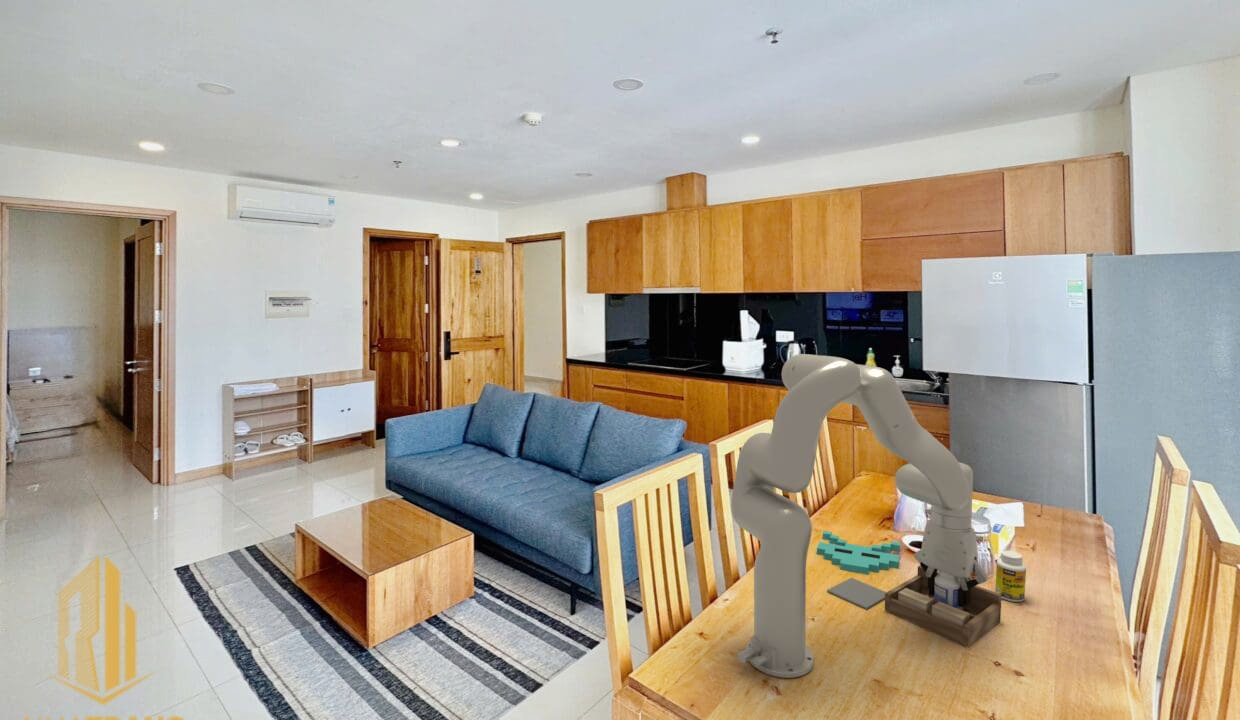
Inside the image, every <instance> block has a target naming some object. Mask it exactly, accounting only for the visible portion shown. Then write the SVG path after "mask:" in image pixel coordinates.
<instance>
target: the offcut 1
mask: <svg viewBox="0 0 1240 720" xmlns="http://www.w3.org/2000/svg"><path fill="white" fill-rule="evenodd" d="M921 594H922V593H920V594H919V593H916V592H914V591H911V590H909V589H906V588H905V589H903V590H901V591H900V592H898V601H900V602H903V603H905V604H907V605H910V606H912V607H914V608H917V609H919V610H922V611H924V612H926V613H929V614H931V615H932V606H933V599H934V598H933V597H931V598H929V597H930V596H928V595H926V596H924V595H925V594H923V595H921ZM927 596H928V597H927ZM932 598H933V599H932Z"/></svg>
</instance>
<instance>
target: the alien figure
mask: <svg viewBox="0 0 1240 720" xmlns="http://www.w3.org/2000/svg"><path fill="white" fill-rule="evenodd" d="M822 540H826V541H829V543H828V542H822V541H819V542H818V545H817V547H816V555H819V556H823V555H824V556H823V559H824V560H827V561H831V564H832V565H835V566H839V570H841V571H846V572H852V573H857V574H861V575H862V574H863V575H867V576H868V575H870V574H869V573H870V572H872V573H873V572H874V573H879V572H880V570H883V571H889V570H890V569H889V568H893V569H897V570H898V569H899V568H900V567H899V566H900V555H899V554H893V553H891V551H892V552H898V553H899V552H900V551H901V542H899V541H893V540H891V541H890V543H888V542H887V543H886V542H881V545H877V544H872V546H865V545H861V544H859V545H858V544H854V543H853V544H852V543H848V540H847V539H843V538H842V539H841V538H840V535H837V534H835V535H834V534H833V532H832V531H827V530H823V533H822Z"/></svg>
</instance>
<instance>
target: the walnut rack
mask: <svg viewBox="0 0 1240 720" xmlns="http://www.w3.org/2000/svg"><path fill="white" fill-rule="evenodd" d="M937 574H938V575H939V573H938V571H937ZM905 588H906V589H909V590H911V591H914V592H916V593H919V594H921V595H924V596H927V597H929V598H932V599H933V605H934V604H936V603H938V602H941V601H938V600H936V599H934V595H932V596H931V595H929V589H928V577H927V576H926V572H925V571H924V569H923V568H922V567H921V565H918V566H917V574H916V575H915V576H913V577H911V578H909V579H907V580H906V581H904V582H902V583H901V584H899V585H897V586H895V587H894V588H891V589H890V590H888V591H885V592H886V593H885V600H884V611H885V612H886V613H887V612H888V613H889V614H892V615H895V616H897V617H898V618H900V619H904V620H905V621H907V622H910V623H912V624H914V625H916V626H918V627H921V628H924V629H925V630H928V631H930V632H933V633H935V634H937V635H939V636H941V637H943V638H946V639H947V640H951V641H953V642H954V643H957V644H959V645H962V646H964V647H966V648H969V647H971V645H973V644H974V643H975V642H976V641H978V640H980V639H981V637H983V636H984V635H986V634H987V633H988V632H989V631H991V630H992V629H993V628H995V627H996V626H997V625H998V624H999V623H1000V622H1001V618H1002V617H1001V616H1002V615H1001V613H1002V612H1001V611H1002V598H1001V594H998V593H996V592H995V591H992V590H990V589H986V588H984V587H982V586H979V585H976V586H974V587H972V588H971V594H970V602H969V603H968V604H967V605H965V606H964V607H963V610H962V611H964V612H967V613H969V614H970V619H969V622H967V623H966V624H965V625H963V628H962V627H960V626H957V625H955V624H952V623H950V622H948V621H945V620H943V619H941V618H938V617H936V616H933V615H931V614H929V613H926V612H924V611H922V610H919V609H917V608H914V607H912V606H910V605H907V604H905V603H903V602H900V601H898V592H900V591H901V590H903V589H905ZM942 603H943V602H942ZM944 604H946V603H944ZM947 605H948V604H947ZM949 606H951V605H949ZM952 607H953V606H952ZM954 608H956V607H954ZM957 609H958V608H957ZM959 610H961V609H959Z"/></svg>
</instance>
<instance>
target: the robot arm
mask: <svg viewBox="0 0 1240 720" xmlns="http://www.w3.org/2000/svg"><path fill="white" fill-rule="evenodd" d="M785 361H786V362H785V363H784V364H783V366H782V369H781V380H782V383H783V385H784V387H785V388H786V389H787V390H788V392H787V393H786V394H785V395H784V397H783V398H782V399H781V401H780V402H779V405H778V407H777V409H776V412H775V416H774V420H773V425H772V428H771V433H769V432H758V433H755V434H753V435H752V436H750V437H749V438H748V439H747V440H746V441H745V443H743V445H742V447H741V449H740V452H739V455H738V458H737V463H736V464H737V465H736V469H735V476H734V482H733V488H732V495H731V504H730V505H731V507H730V511H731V515H732V518H733V520H734V522H735V523H736V524H737V526H738V527H740V528H741V529H743V530H744V531H745V532H746V533H749V534H750V535H752V536H753V537H754V538H755V539H757V540H758V541H759V542H760V548H759V551H758V554H757V555H756V557H755V560H754V565H753V566H754V567H753V612H754V613H753V630H754V631H753V636H751V637H750V640H748V641H747V644H746V645H745V649H743V650H742V651H740V652H738V653H737V659H738V661H739V662H740V663H741V664H745V663H748V662H749V663H750V664H751V665H752V666H753V667H754V668H756V669H757V670H759V671H761V672H762V673H764V674H765V675H769V676H772V677H776V678H784V679H785V678H786V679H791V678H798V677H799V678H800V677H801V676H804V675H806V674H808V673H809V672H811V670H812V669H813V667H814V664H815V659H814V658H815V657H814V653H813V651H812V650H811V648H810V646H808V645H807V644H806V623H807V622H806V616H807V615H806V611H807V609H806V605H807V602H806V601H807V599H806V597H807V593H806V592H807V589H806V588H807V578H806V577H807V561H808V560H807V558H808V552H809V547H810V543H811V539H812V533H813V532H812V531H813V525H812V520H811V518H810V515H809V514H808V513H807V511H806V510H805V509H804V508H803V506H801V505H799V503H797V502H795V501H793V500H791V499H789V498H787V497H786V496H783V495H782V494H780V493H777V492H775V489H778V490H780V491H783V492H784V493H785V492H786V493H790V494H799V493H802V492H804V491H805V490H806V489H807V488H808V487H809V485H810V483H811V482H812V477H813V474H814V468H815V464H816V463H815V462H816V456H817V449H818V446H819V438H820V435H821V434H820V433H821V429H822V425H823V423H824V421H825V419H826V418H827V416H828V415H829V413H830V412H831V411H832V410H833V409H834V408H835V407H836V406H838V405H839V404H841V403H843V404H847V405H852V406H855V407H857V408H858V409H859V411H860V413H861V414H862V416H863V418H864V420H865V421H866V423H867V425H868V427H869V428H870V431H871V433H872V434H873V435H874V437H875V439H876V441H877V443H879V444H880V445H881V446H882V447H884V448H885V449H886V450H887V451H888V452H890V453H892V454H893V455H895V456H897V457H899V458H900V459H902V460H904V461H905V462H907V464H904V465H902V466H901V467H899V468H898V470H897V471H896V473H895V474H894V475H895V476H894V484H895V486H896V488H897V490H898V491H899V492H900V493H901V494H903V495H904V496H907V497H908V498H911V499H914V500H916V501H920V502H921V503H925V504H928V505H930V507H926V508H925V511H924V512H925V514H927V515H929V519H928V520H927V521H926V523H925V527H924V530H923V531H924V532H923V536H922V540H921V542H922V543H921V549H919V550H918V551H916V552H915V553H914V554H913V558H914V559H915V560H916V561H917V563H919V564H920V565H919V566H921V567H922V568H923V569H924V571H925V572H926V576H927V577H928V589H929V595H931V596H932V595H934V586H935V577H936V576H937V575H938V574H937V572H938V570H939V571H942V572H945V573H948V574H951V575H953V576H956V577H959V580H960V584H961V588H960V589H959V595H958V606H959V607H964V606H965V605H967V604H968V603H969V602H970V594H971V588H972V587H974V586H979V585H981V584H984V583H986V582H988V580H989V576H988V575H987V573H986V572H985V570H984V569H983V568H982V566H981V565H980V564H979V553H978V543H977V537H976V532H975V529H974V528H973V527H972V518H973V517H972V512H973V487H974V486H973V485H974V473H973V468H972V467H971V466H969V465H968V464H965V463H963V462H959V461H958V459H957V458H956V457H955V455H954V454H953V453H952V452H951V451H950V450H949V449H948V448H947V447H946V446H945V445H944V444H942V443H941V442H940V441H939V440H938V438H936V437H935V436H933V434H932V433H930V431H928V430H927V429H926V428H924V427H923V426H922V425H920V423H919V422H918V420H917V419H916V416H915V415H914V413H913V411H912V409H911V407H910V405H909V403H908V401H907V400H906V397H905V396H904V394H903V392H902V390H901V388H900V387H899V384H898V381H897V380H896V379H895V378H894V375H893V374H892V373H891V372H890V371H888V370H887V369H885V368H882V367H878V366H874V365H873V366H872V365H868V364H867V365H865V364H859V363H858V364H857V363H855V362H854V361H852V360H849V359H847V358H843V357H840V356H839V357H838V356H830V355H818V354H809V353H808V354H807V353H806V354H805V353H800V354H798V353H797V354H795V355H793V356H791V357H790V358H788V359H787V360H785ZM973 574H975V575H976V577H973V578H972V575H973ZM931 596H930V597H931Z"/></svg>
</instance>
